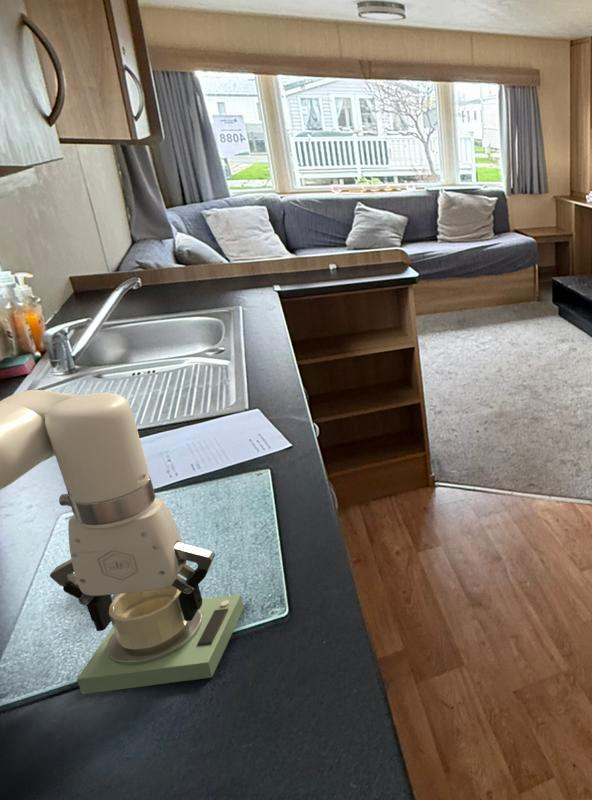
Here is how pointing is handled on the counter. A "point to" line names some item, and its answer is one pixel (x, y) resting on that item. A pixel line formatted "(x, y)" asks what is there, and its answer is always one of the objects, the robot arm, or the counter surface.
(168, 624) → the bowl
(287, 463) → the counter surface
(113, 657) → the platform
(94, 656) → the scale
